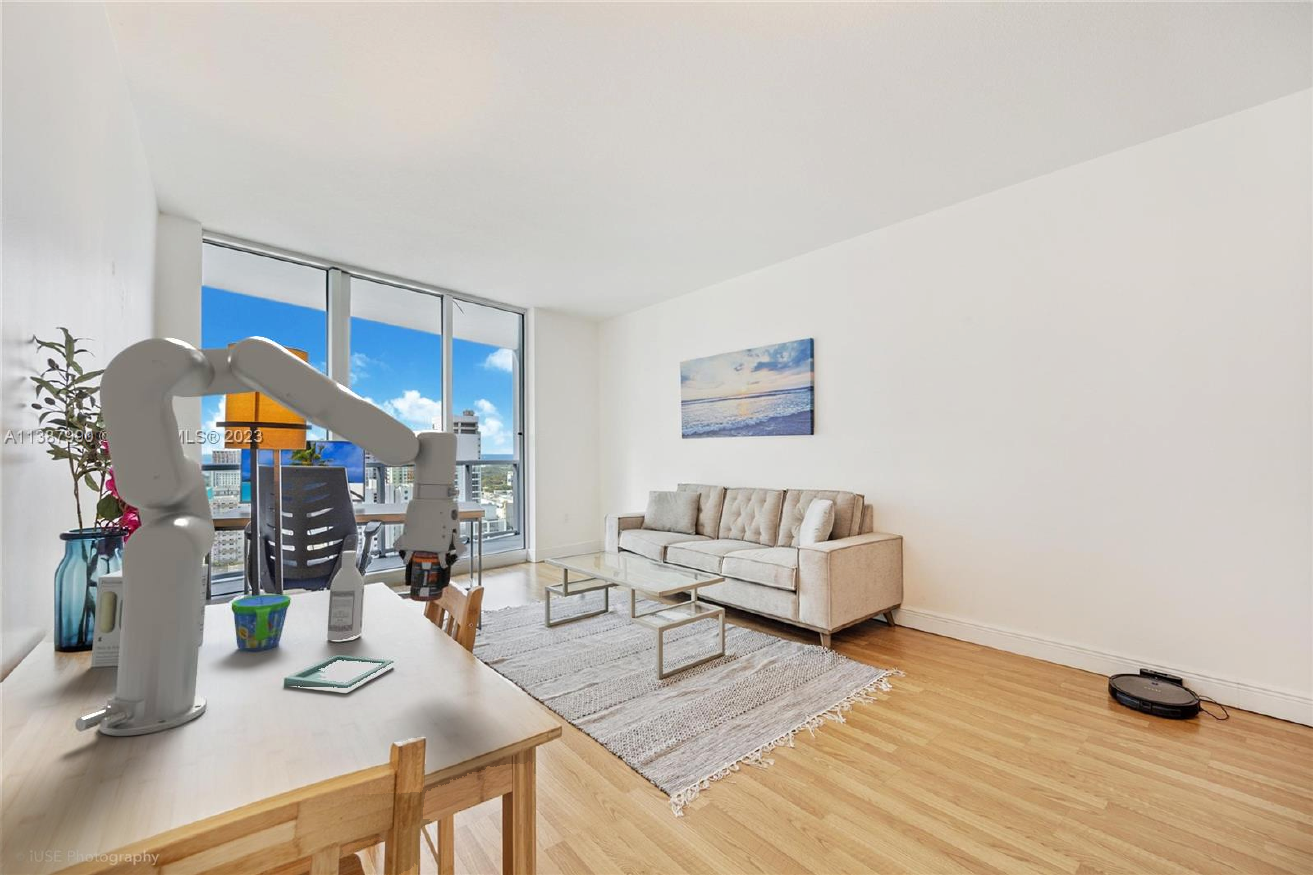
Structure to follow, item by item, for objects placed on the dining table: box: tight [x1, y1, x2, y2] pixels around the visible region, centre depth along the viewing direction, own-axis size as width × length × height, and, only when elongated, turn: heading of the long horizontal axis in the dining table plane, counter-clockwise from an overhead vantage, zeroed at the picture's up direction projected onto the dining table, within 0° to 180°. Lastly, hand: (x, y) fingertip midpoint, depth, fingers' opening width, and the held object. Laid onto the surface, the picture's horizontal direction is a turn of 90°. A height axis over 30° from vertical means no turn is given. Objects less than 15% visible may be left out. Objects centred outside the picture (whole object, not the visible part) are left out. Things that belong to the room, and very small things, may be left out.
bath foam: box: [327, 550, 365, 641], centre depth 130 cm, size 7×7×20 cm
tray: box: [283, 654, 395, 688], centre depth 107 cm, size 13×13×2 cm
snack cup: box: [231, 594, 292, 652], centre depth 123 cm, size 16×10×10 cm
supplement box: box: [90, 563, 209, 668], centre depth 116 cm, size 13×13×18 cm
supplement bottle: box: [409, 551, 444, 603], centre depth 109 cm, size 6×6×11 cm
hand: (427, 585), depth 109 cm, fingers closed on supplement bottle, 6 cm apart
